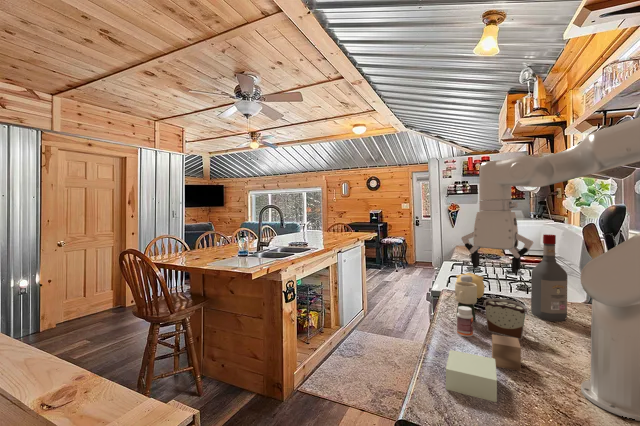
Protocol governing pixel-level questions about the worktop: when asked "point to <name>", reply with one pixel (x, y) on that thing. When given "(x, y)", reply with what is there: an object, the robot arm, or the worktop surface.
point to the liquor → (549, 285)
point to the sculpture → (476, 280)
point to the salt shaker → (466, 279)
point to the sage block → (471, 375)
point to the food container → (505, 317)
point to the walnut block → (506, 352)
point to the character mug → (466, 295)
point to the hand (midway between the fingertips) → (494, 269)
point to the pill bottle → (465, 321)
